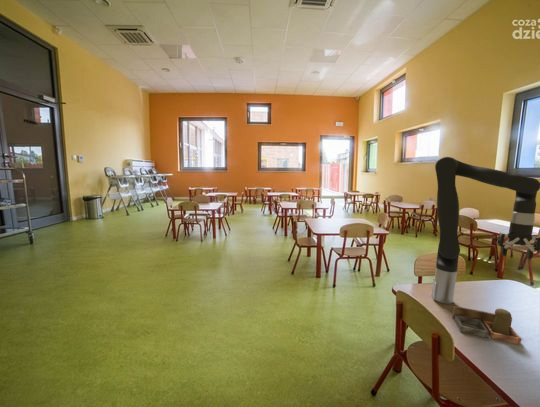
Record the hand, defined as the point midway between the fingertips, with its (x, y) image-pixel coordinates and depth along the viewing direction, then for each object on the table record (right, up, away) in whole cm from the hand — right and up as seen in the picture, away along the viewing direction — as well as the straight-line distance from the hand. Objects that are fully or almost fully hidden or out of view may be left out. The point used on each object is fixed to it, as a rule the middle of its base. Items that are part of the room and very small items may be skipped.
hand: (516, 257), depth 119 cm
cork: (-14, -31, -8) cm, 35 cm away
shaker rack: (-19, -31, -6) cm, 37 cm away
